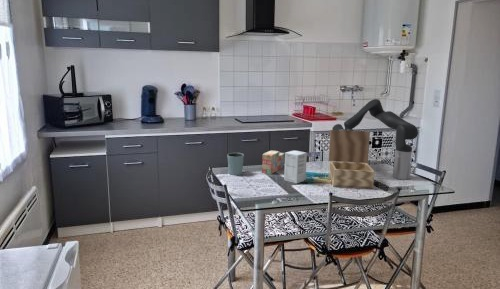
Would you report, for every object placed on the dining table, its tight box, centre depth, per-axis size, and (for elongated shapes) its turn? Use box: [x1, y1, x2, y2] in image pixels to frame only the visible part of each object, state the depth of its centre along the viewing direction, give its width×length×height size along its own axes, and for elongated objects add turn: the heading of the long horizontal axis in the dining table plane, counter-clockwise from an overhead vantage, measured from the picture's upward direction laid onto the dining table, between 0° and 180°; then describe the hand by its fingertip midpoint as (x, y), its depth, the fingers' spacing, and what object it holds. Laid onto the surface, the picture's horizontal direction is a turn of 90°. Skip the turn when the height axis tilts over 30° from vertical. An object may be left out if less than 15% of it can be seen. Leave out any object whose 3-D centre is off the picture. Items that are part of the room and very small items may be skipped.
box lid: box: [328, 129, 371, 164], centre depth 227 cm, size 23×20×3 cm
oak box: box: [328, 161, 375, 190], centre depth 220 cm, size 22×18×10 cm
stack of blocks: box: [261, 150, 286, 175], centre depth 242 cm, size 21×6×12 cm, turn 152°
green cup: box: [227, 152, 245, 176], centre depth 231 cm, size 10×10×12 cm
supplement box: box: [283, 150, 308, 184], centre depth 221 cm, size 10×9×17 cm
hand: (347, 140), depth 229 cm, fingers closed
